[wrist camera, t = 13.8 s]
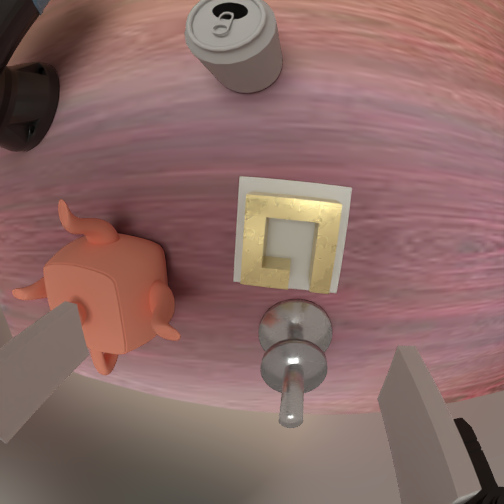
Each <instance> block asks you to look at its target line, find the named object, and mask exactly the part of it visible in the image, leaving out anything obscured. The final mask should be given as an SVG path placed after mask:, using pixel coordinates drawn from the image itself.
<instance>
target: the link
mask: <svg viewBox="0 0 504 504" xmlns="http://www.w3.org/2000/svg"><path fill="white" fill-rule="evenodd" d="M341 211H342V204H341V203H340V202H339V201H337V200H333V199H325V198H316V197H307V196H298V195H288V194H278V193H267V192H255V191H252V192H250V193H248V194H246V203H245V218H244V233H243V249H242V265H241V281H240V284H244V285H252V286H261V287H269V288H278V289H287V290H288V283H289V275H290V264H291V259H288V258H279V257H270V256H266V247H267V236H268V224H269V218H279V219H288V220H298V221H307V222H315V230H314V238H313V246H312V254H311V261H310V269H309V276H308V281H309V292H314V293H324V294H329V291H330V285H331V280H332V274H333V267H334V261H335V255H336V248H337V241H338V234H339V226H340V219H341Z"/></svg>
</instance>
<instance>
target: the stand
mask: <svg viewBox="0 0 504 504" xmlns="http://www.w3.org/2000/svg"><path fill="white" fill-rule="evenodd" d="M331 339H332V327H331V322H330V319H329V317H328V315H327V314H326V312H325V311H324V310H323V309H322V308H321V307H320V306H318V305H317V304H315V303H313V302H310V301H307V300H303V299H289V300H285V301H282V302H279V303H277V304H275V305H274V306H272V307H271V308H270V309H269V310H268V311H267V312H266V313H265V314H264V316H263V318H262V320H261V323H260V327H259V340H260V344H261V346H262V348H263V349H264V350H265V354H264V356H263V358H262V363H261V375H262V378H263V380H264V381H265V382H266V384H267V385H268V386H270V387H271V388H272V389H274V390H276V391H278V392H281V393H282V397H281V406H280V415H279V423H280V424H281V425H282V426H284V427H287V428H294V427H298V426H300V425H301V424H302V422H303V397H304V393H306V392H309V391H311V390H313V389H315V388H316V387H318V386H319V385H320V384H321V383H322V382H323V380H324V379H325V377H326V374H327V361H326V356H325V354H324V352H325V351H326V350H327V348H328V346H329V344H330V342H331Z"/></svg>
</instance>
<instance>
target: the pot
mask: <svg viewBox="0 0 504 504" xmlns="http://www.w3.org/2000/svg"><path fill="white" fill-rule="evenodd" d="M58 212H59V217H60V221H61V223H62V225H63V227H64V228H65V229H66V230H67V231H68V232H70V233H72V234H84V235H85V236H83V237H80V238H78V239H76V240H74V241H72V242H70V243H69V244H67V245H66V246H64V247H63V248H62V249H60V250H59V251H58V252H57V253H56V254H55V255H54V256H53V257H52V258H51V259H50V260H49V261H48V262H47V263H46V264H45V266H44V269H43V272H44V277H43V278H42V279H40V280H39V281H37V282H36V283H34V284H32V285H30V286H28V287H24V288H16V289H14V290H13V291H12V293H13V295H14V297H16V298H17V299H20V300H33V299H40V298H48V302H49V307H50V311H52V310H53V309H54V308H56V307H57V306H59V305H60V304H62V303H63V302H65V301H67V302H71V303H74V304H77V307H78V312H79V316H80V321H81V325H82V330H83V334H84V338H85V342H86V345H87V348H89V349H90V353H91V357H92V360H93V363H94V366H95V368H96V369H97V371H98V372H99V373H100V374H102V375H108V374H110V373H111V372H112V370H113V368H114V366H115V364H116V361H117V358H118V355H119V354H125V353H128V352H130V351H132V350H134V349H136V348H138V347H140V346H142V345H144V344H145V343H147V342H149V341H150V340H151V339H153V338H154V337H155V336H156V335H159V336H160V337H162V338H164V339H167V340H172V341H177V340H179V339H180V338H181V336H180V334H179V332H178V331H177V330H176V329H174V328H173V327H172V326H170V325H169V322H170V320H171V319H172V317H173V314H174V309H175V301H174V296H173V294H172V291H171V290H170V288H169V287H168V280H167V268H166V259H165V253H164V250H163V248H162V247H161V246H160V245H159V244H157V243H155V242H153V241H150V240H147V239H143V238H139V237H135V236H131V235H125V234H119V233H117V232H116V230H115V229H114V227H113V226H112V225H111V224H110V223H108V222H106V221H104V220H101V219H97V218H78V217H76V216H74V215H73V214H72V213H71V211H70V210H69V208H68V206H67V204H66V203H65V201H64V200H62V199H61V200H59V203H58ZM103 352H105V353H104V354H103Z"/></svg>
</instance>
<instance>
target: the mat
mask: <svg viewBox="0 0 504 504" xmlns="http://www.w3.org/2000/svg"><path fill="white" fill-rule="evenodd" d="M252 191H255V192H267V193H278V194H288V195H298V196H307V197H316V198H325V199H333V200H337V201H339V202H340V203H341V204H342V211H341V219H340V226H339V234H338V241H337V248H336V255H335V261H334V267H333V274H332V280H331V285H330V291H329V292H331V293H336V292H337V287H338V281H339V276H340V270H341V264H342V258H343V252H344V245H345V238H346V231H347V224H348V216H349V208H350V200H351V191H352V188H351V187H344V186H336V185H328V184H320V183H311V182H302V181H292V180H282V179H271V178H259V177H245V176H240V178H239V193H238V209H237V225H236V243H235V260H234V279H233V281H234V282H240V281H241V265H242V249H243V233H244V218H245V203H246V194H248V193H250V192H252ZM314 230H315V222H307V221H298V220H288V219H279V218H269V224H268V236H267V247H266V256H270V257H279V258H288V259H291V264H290V275H289V283H288V288H293V289H302V290H309V281H308V276H309V269H310V261H311V254H312V246H313V238H314Z"/></svg>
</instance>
